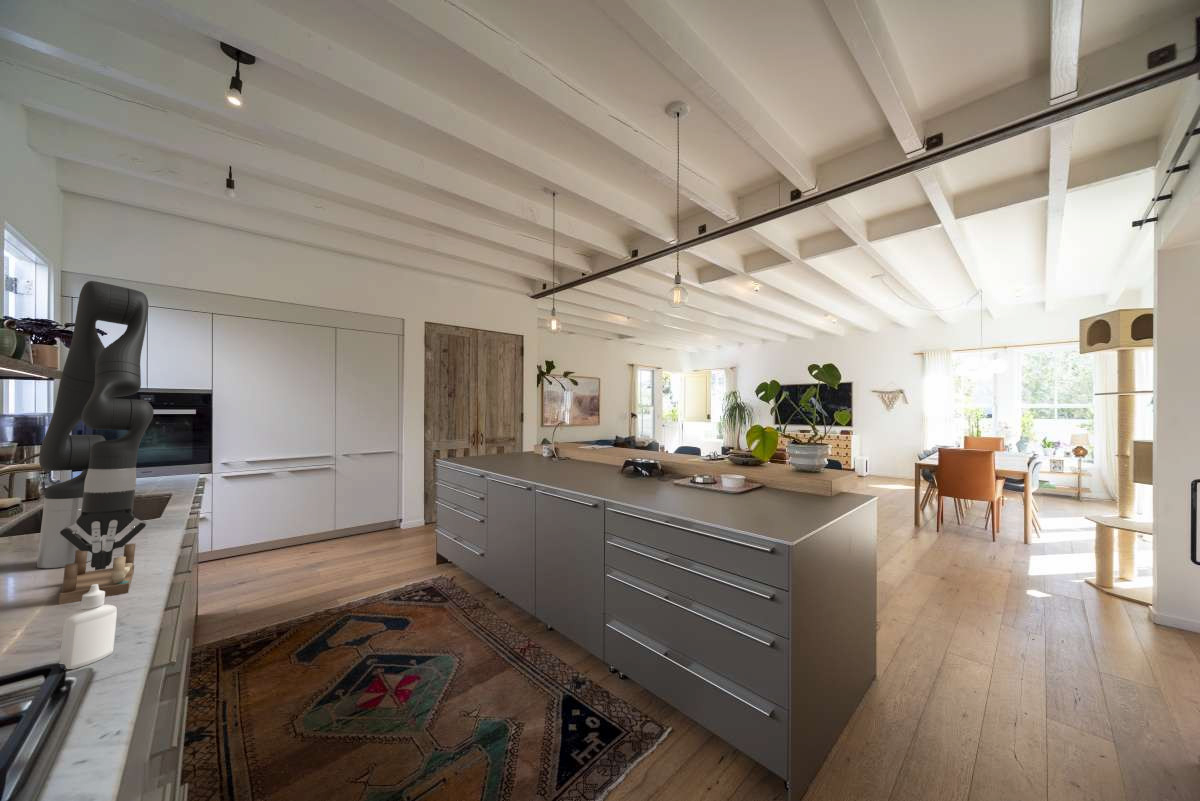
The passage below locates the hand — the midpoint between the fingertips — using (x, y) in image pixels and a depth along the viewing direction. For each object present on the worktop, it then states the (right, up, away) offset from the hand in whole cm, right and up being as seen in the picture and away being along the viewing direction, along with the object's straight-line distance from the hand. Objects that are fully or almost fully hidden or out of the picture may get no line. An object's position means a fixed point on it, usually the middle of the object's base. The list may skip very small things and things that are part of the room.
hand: (100, 568), depth 94 cm
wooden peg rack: (-4, -6, +4) cm, 8 cm away
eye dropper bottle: (+27, -5, -25) cm, 37 cm away
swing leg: (-1, -4, +5) cm, 6 cm away
